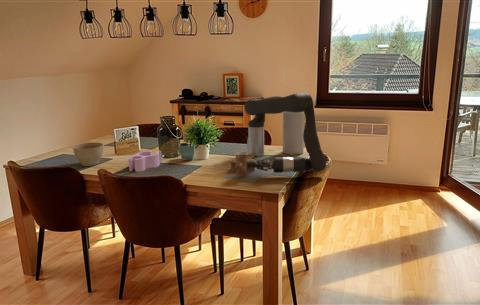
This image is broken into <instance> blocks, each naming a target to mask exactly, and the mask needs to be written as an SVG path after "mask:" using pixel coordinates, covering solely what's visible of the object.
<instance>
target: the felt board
mask: <svg viewBox="0 0 480 305" xmlns="http://www.w3.org/2000/svg"><path fill="white" fill-rule="evenodd" d="M273 173H275V172H274V171H273V169H270V170H268V171H264V170H259V169H257V168H255V171H247V179H236V171H232V172H231V173H229V174H227V175H223V178H226V179H229V180H233V181H234V180H236V181H240V182H245V183H249V184H252V183H254V182H256V181H258V180H261V179H263V178H265V177H267V176H269V175H271V174H273Z"/></svg>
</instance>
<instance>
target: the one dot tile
mask: <svg viewBox="0 0 480 305" xmlns="http://www.w3.org/2000/svg"><path fill="white" fill-rule="evenodd" d="M235 159H236V171H235V172H236V179H247V159H248V158H247V151H236V152H235Z"/></svg>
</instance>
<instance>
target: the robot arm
mask: <svg viewBox="0 0 480 305" xmlns="http://www.w3.org/2000/svg"><path fill="white" fill-rule="evenodd" d="M244 111H245V113H246V114H247V115H249V116H254V117H253V118H252V119H250V120H249V121H248V124H247V125H248V138H247V139H246V140H247V143H246V146H247V147H246V148H247V151H246V155H249V156H251V157H261V156H264V155H265V120H266V114H268V115H276V114H283V112H284V111H286V112H296V113H297V112H304V119H305V122H304V133H303V139H304V147H305V150H306V152H307V154H308V156H309V158H308V157H307V158H304V157H298V156H297V157H295V156H293V157H291V156H274V157H273V158H272V160H270V159H267V158H266V159H265V158H264V159H261V160H256V161H254V162H248V168H257V169H259V170H264V171H268V170H270V169H273V171H274V173H275V174H276V173H283V174H284V173H285V174H286V173H301V172H304V173H305V171H308V170H310V169H314V170H315V171H317V172H316V173H320V172H322V171H323V170H325V169H326V166H327V161H326V157H325V155H324V153H323V151H322V148H321V144H320V140H319V139H320V138H319V136H318V132H317V127H316V117H315V114H316V113H315V106H314V100H313V97H312V95H311V94H310V93H308V92H298V93H296V92H295V93H293V94H289V95H286V96H279V95H277V96H270V97H265V98H251V99H248V100H246V102H245V104H244Z"/></svg>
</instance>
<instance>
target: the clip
mask: <svg viewBox="0 0 480 305" xmlns="http://www.w3.org/2000/svg"><path fill="white" fill-rule="evenodd" d="M154 153H155V154H152V150H151V149H150V150H145V151H143V150H142V151H139V152H137V153H135V155H133V156H129V157H128V168H129V172H133V170H135V173H139V172H143V171H145V170H148V169H154V168H157V167H159V166H160V164H162V163H163V162H162V151H161V150H158V151H155V152H154ZM153 167H154V168H153Z"/></svg>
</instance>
